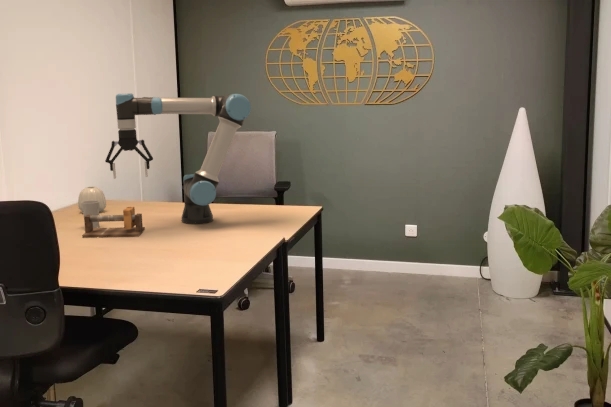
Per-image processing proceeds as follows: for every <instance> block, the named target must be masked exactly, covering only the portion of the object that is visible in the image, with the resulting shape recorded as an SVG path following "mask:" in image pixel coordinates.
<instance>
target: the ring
mask: <svg viewBox="0 0 611 407" xmlns="http://www.w3.org/2000/svg"><path fill="white" fill-rule="evenodd" d="M122 215H124V221H123V226H124V229H132V228H133V227H136V226H135V221H132V215H136V213H135V206H126V208H124V209H123V212H122Z"/></svg>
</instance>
